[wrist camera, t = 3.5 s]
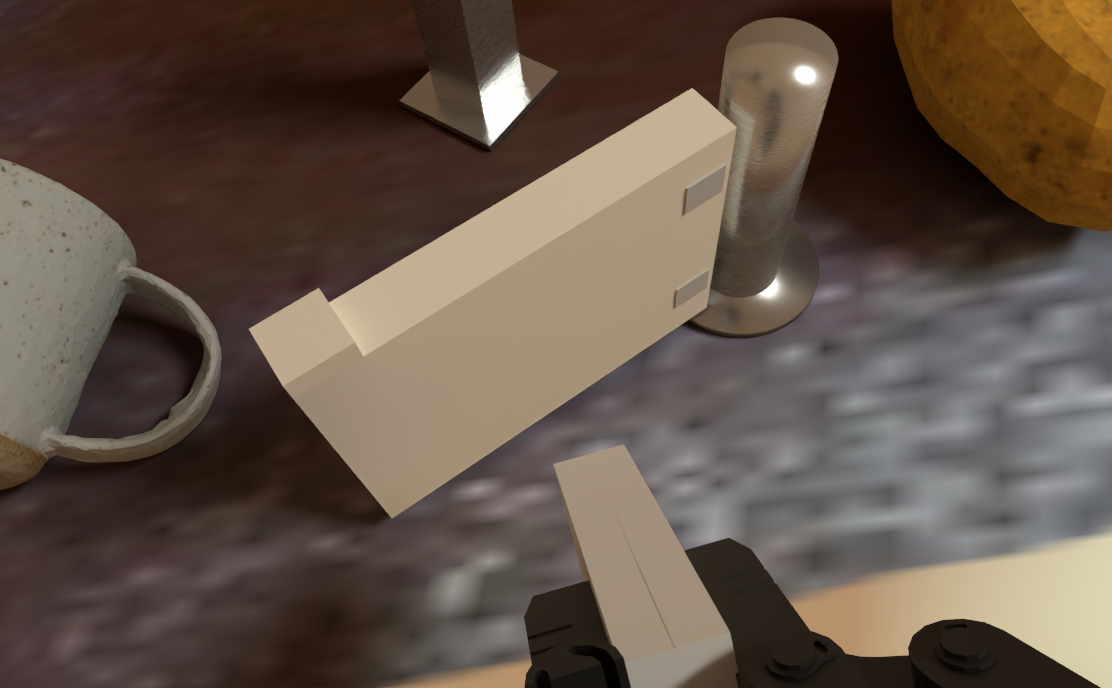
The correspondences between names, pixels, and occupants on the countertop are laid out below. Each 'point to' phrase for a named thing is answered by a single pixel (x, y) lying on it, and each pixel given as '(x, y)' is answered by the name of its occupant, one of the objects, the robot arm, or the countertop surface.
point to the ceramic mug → (73, 325)
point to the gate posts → (745, 100)
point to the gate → (511, 306)
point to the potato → (1019, 95)
